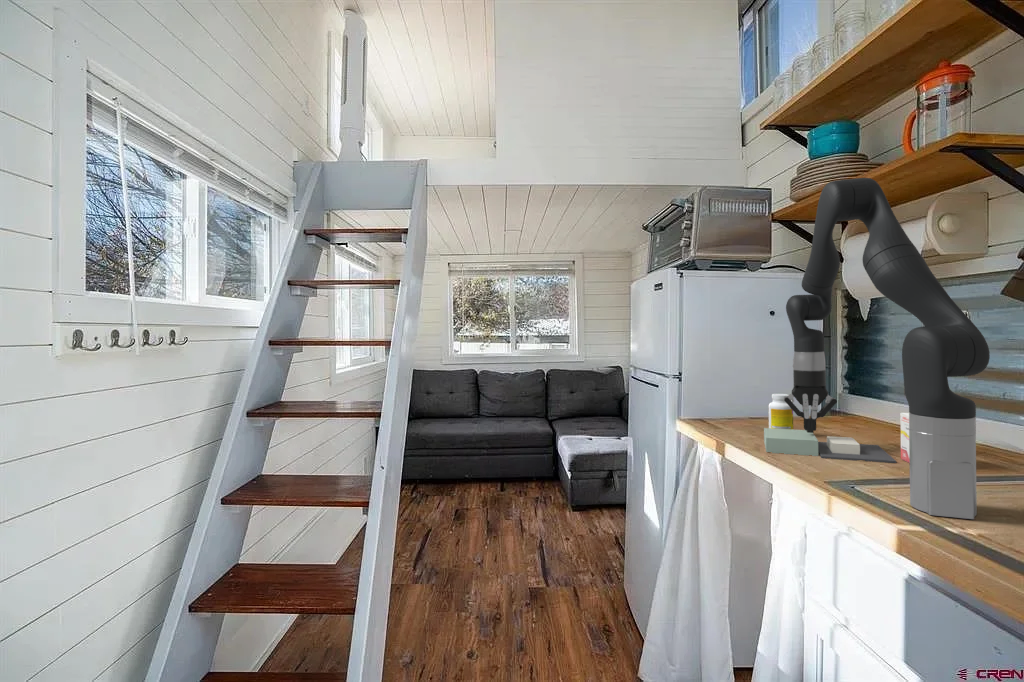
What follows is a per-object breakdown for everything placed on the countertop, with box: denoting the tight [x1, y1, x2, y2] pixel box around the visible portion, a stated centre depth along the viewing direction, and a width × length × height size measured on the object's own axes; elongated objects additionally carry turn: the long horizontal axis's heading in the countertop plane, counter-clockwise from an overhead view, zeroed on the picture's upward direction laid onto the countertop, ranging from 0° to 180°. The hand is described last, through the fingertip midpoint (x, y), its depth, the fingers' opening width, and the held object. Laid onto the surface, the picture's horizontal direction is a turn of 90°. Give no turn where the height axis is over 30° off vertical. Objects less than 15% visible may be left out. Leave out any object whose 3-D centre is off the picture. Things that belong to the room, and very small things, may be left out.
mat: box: [818, 441, 897, 464], centre depth 134 cm, size 18×16×1 cm
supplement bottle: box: [768, 393, 794, 430], centre depth 155 cm, size 7×7×13 cm
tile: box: [826, 436, 861, 455], centre depth 135 cm, size 9×6×2 cm, turn 156°
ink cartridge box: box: [899, 412, 910, 464], centre depth 121 cm, size 9×5×15 cm, turn 168°
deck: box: [763, 427, 819, 457], centre depth 140 cm, size 14×12×4 cm
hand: (810, 432), depth 138 cm, fingers closed
